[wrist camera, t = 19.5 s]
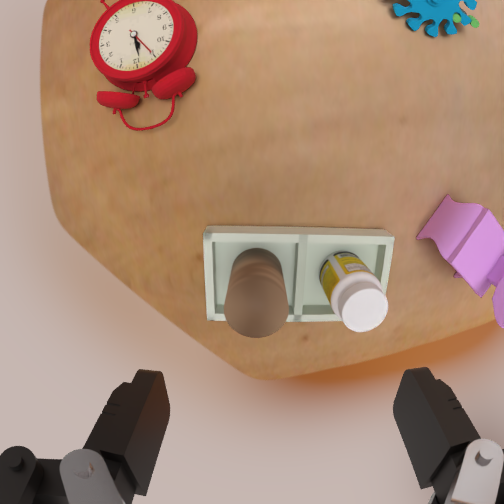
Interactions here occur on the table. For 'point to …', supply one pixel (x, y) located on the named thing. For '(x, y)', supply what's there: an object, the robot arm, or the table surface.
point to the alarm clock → (144, 52)
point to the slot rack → (292, 262)
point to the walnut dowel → (256, 294)
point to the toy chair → (471, 247)
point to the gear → (437, 14)
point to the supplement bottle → (353, 291)
